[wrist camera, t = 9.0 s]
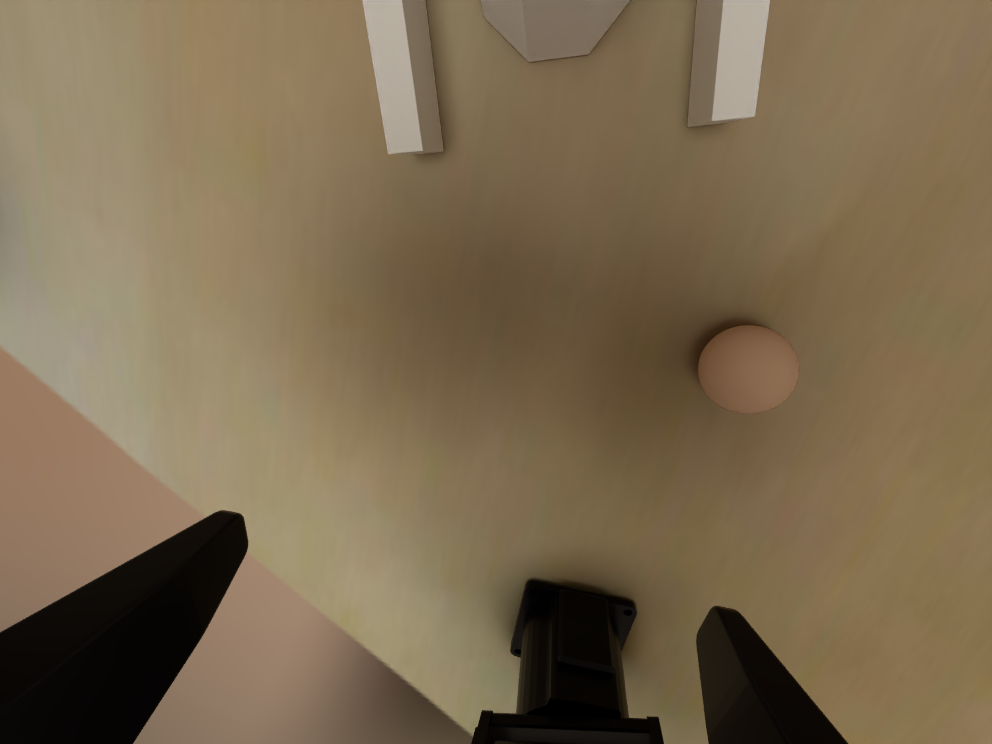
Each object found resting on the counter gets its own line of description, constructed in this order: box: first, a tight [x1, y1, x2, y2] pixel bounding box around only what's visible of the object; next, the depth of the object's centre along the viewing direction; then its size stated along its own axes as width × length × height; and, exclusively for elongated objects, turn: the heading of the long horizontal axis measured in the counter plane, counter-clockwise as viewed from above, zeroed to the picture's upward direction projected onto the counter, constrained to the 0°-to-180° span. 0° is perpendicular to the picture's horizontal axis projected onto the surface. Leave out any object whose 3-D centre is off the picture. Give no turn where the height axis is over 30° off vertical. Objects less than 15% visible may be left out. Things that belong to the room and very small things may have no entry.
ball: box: [698, 325, 799, 414], centre depth 18 cm, size 4×4×4 cm
